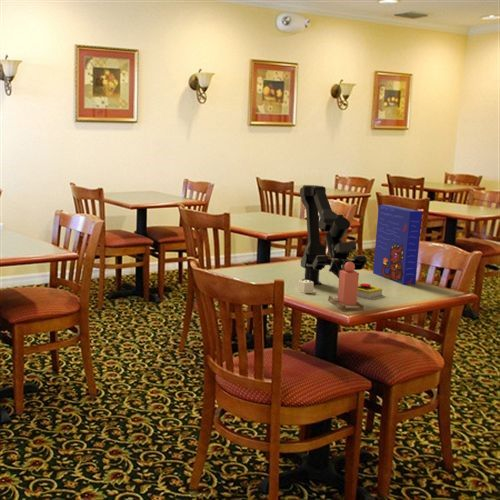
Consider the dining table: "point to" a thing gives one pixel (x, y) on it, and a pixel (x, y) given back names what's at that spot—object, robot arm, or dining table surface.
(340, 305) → the track
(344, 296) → the pawn
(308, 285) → the die
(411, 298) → the dining table surface
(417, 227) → the cereal box
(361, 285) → the emergency button
